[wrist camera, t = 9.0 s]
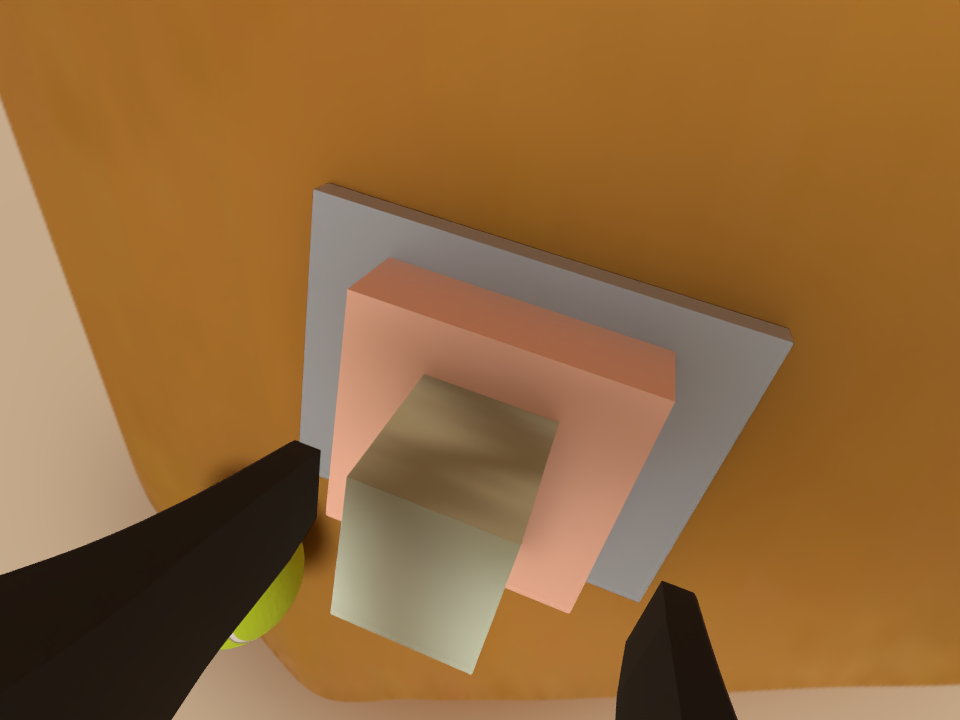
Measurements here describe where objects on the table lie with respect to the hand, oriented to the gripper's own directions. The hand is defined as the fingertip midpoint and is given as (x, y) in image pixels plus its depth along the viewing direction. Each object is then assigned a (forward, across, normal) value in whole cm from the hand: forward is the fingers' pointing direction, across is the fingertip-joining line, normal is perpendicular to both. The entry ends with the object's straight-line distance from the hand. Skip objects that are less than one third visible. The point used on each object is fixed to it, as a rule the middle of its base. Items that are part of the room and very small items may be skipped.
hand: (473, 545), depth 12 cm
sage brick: (+6, +1, +4) cm, 7 cm away
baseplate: (+10, +1, +4) cm, 11 cm away
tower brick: (+9, +1, +4) cm, 10 cm away
